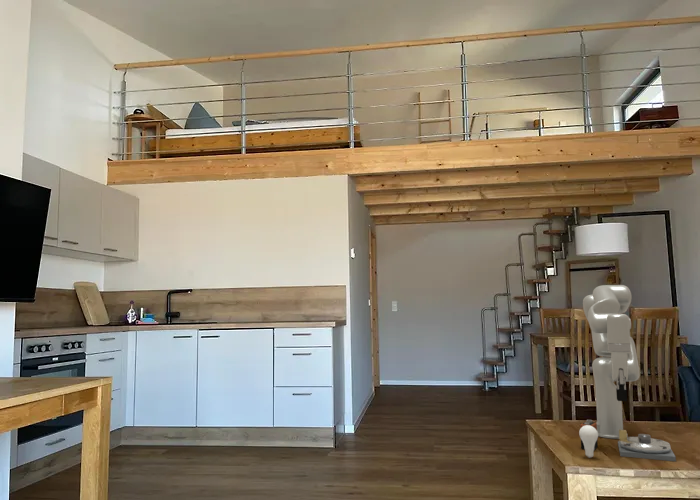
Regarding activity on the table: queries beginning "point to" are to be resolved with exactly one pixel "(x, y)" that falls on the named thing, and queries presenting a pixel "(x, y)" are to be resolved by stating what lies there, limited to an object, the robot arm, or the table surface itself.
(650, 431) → the table surface
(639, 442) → the round tabbed tray
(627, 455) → the base plate
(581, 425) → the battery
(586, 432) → the lightbulb
